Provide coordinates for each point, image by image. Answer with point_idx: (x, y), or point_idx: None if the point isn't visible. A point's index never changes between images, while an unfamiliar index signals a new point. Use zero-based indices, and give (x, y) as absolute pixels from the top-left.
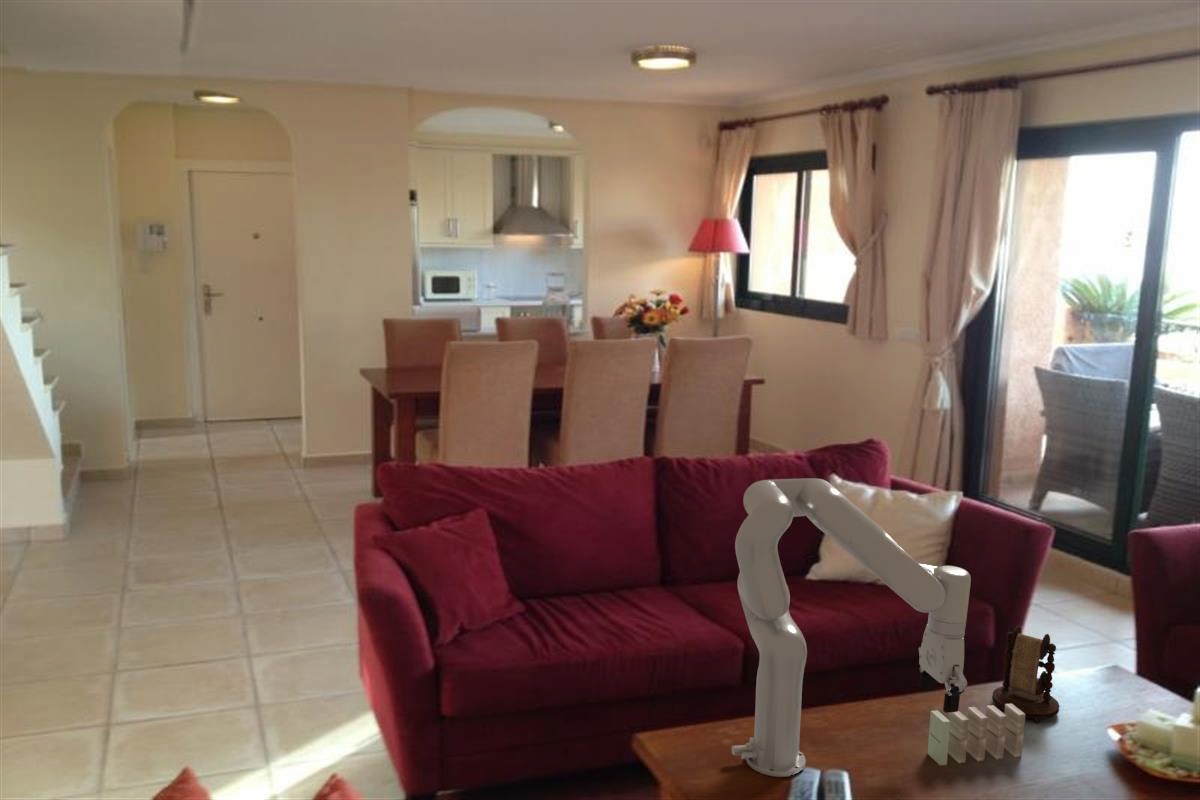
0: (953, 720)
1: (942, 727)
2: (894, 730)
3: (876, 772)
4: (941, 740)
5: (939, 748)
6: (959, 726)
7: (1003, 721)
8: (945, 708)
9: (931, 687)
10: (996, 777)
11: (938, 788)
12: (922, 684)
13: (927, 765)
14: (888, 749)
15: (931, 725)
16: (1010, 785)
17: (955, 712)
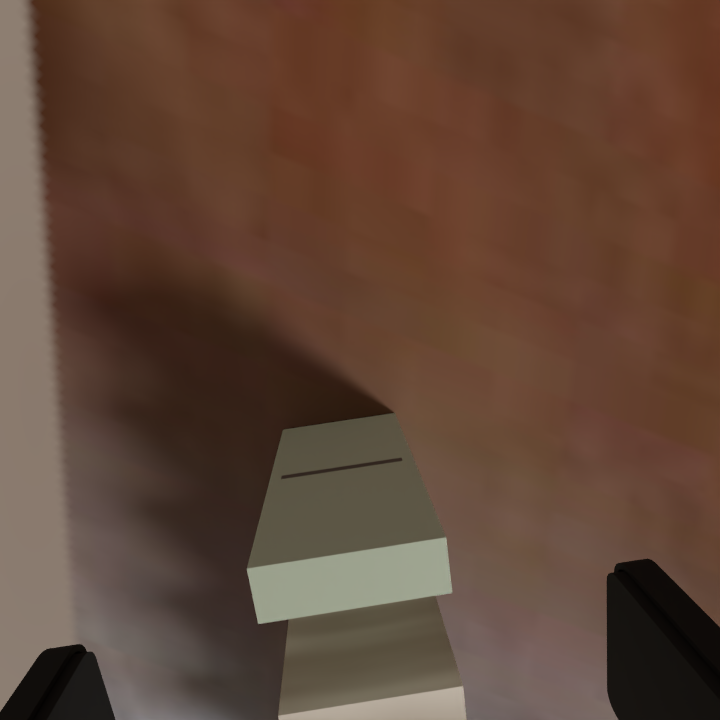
0: (388, 647)
1: (261, 538)
2: (628, 332)
3: (218, 64)
4: (273, 488)
5: (291, 460)
6: (309, 655)
7: None
8: (26, 694)
9: (629, 712)
10: (180, 631)
11: (71, 343)
12: (663, 641)
13: (285, 370)
14: (449, 227)
15: (403, 486)
16: (116, 660)
17: (405, 709)
